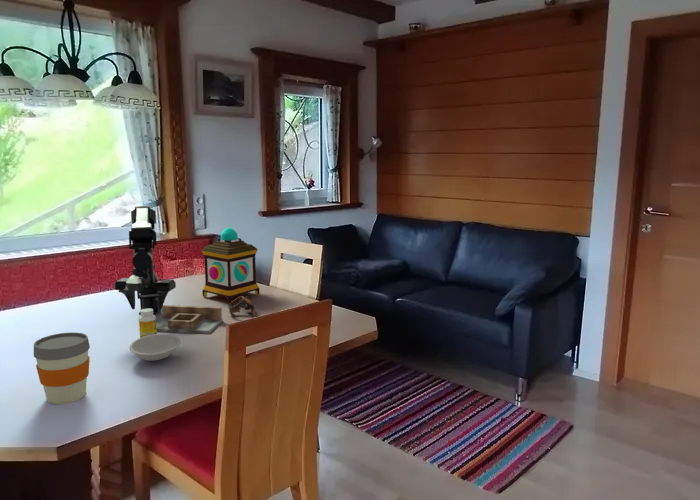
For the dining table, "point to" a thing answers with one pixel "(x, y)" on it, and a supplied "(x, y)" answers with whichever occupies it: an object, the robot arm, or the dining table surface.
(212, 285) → the decorative lantern
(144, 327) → the supplement bottle
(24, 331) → the dining table surface
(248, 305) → the grey-brown curved piece
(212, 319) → the board
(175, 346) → the dish
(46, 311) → the dining table surface
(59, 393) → the reusable coffee cup
